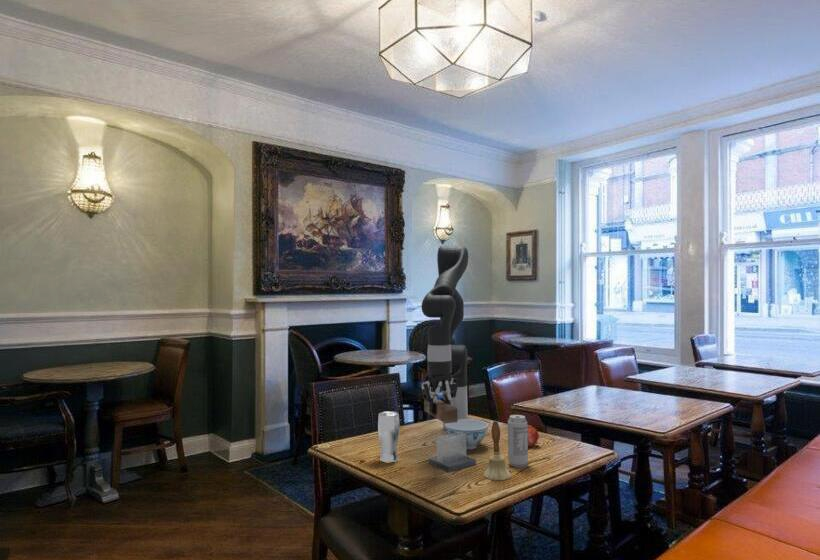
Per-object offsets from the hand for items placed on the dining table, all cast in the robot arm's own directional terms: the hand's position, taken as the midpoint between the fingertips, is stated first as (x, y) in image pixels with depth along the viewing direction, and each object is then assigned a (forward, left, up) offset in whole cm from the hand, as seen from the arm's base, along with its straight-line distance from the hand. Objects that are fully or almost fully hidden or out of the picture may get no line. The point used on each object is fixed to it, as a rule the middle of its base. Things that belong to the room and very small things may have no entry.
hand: (440, 412), depth 161 cm
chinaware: (-10, +20, -17) cm, 28 cm away
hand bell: (+17, +8, -17) cm, 25 cm away
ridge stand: (+1, +4, -16) cm, 17 cm away
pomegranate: (+2, +38, -17) cm, 41 cm away
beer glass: (-14, -10, -17) cm, 24 cm away
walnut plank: (0, 0, -1) cm, 1 cm away
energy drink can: (+14, +20, -17) cm, 29 cm away
